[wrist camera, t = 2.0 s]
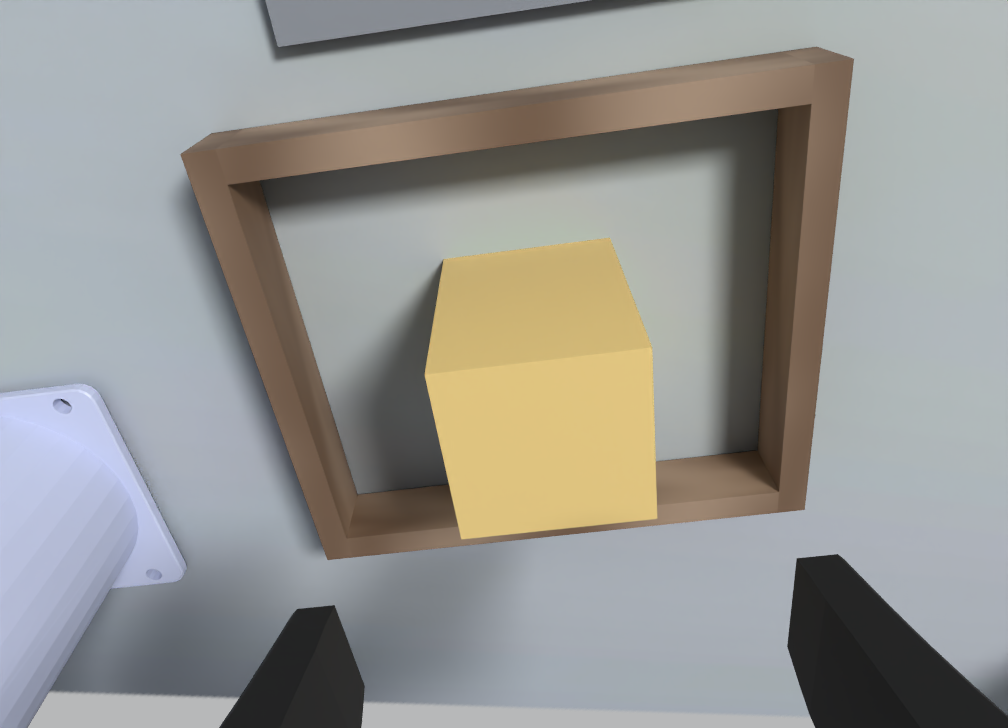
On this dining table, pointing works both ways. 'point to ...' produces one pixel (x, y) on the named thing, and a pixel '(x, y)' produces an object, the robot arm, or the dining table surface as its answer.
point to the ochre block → (542, 391)
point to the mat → (378, 15)
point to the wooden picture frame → (519, 120)
